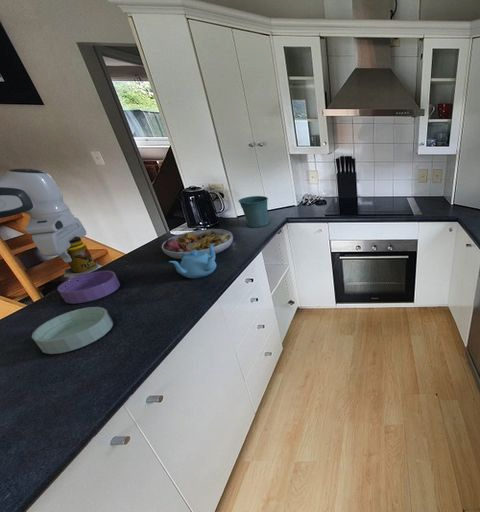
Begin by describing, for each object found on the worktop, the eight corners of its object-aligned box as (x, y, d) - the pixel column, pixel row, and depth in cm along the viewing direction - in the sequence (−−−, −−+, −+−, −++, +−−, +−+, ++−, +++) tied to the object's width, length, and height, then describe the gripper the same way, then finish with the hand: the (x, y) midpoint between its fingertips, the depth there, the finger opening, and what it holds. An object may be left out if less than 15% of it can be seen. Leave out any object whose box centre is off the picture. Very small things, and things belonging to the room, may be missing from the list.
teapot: (184, 267, 121) (176, 246, 116) (222, 261, 126) (216, 241, 122) (176, 284, 109) (168, 261, 104) (219, 276, 114) (213, 255, 110)
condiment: (98, 269, 98) (82, 239, 93) (64, 277, 93) (45, 246, 88) (97, 262, 103) (82, 233, 98) (65, 270, 98) (47, 239, 92)
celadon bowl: (28, 361, 73) (17, 348, 71) (58, 326, 85) (50, 314, 83) (102, 345, 79) (94, 331, 77) (120, 314, 91) (114, 302, 89)
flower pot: (248, 230, 161) (243, 204, 154) (240, 223, 172) (234, 198, 165) (276, 225, 171) (272, 200, 164) (266, 218, 182) (262, 194, 175)
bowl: (217, 233, 157) (213, 220, 154) (245, 246, 142) (242, 232, 138) (155, 250, 135) (149, 236, 132) (180, 268, 120) (174, 252, 116)
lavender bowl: (55, 308, 93) (47, 296, 91) (76, 286, 106) (70, 275, 103) (112, 298, 99) (106, 286, 97) (126, 278, 112) (121, 267, 109)
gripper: (58, 211, 97) (76, 247, 103) (20, 231, 80) (45, 271, 86) (81, 209, 99) (98, 244, 105) (50, 228, 83) (72, 267, 89)
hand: (74, 256), depth 96 cm, fingers closed on condiment, 6 cm apart
